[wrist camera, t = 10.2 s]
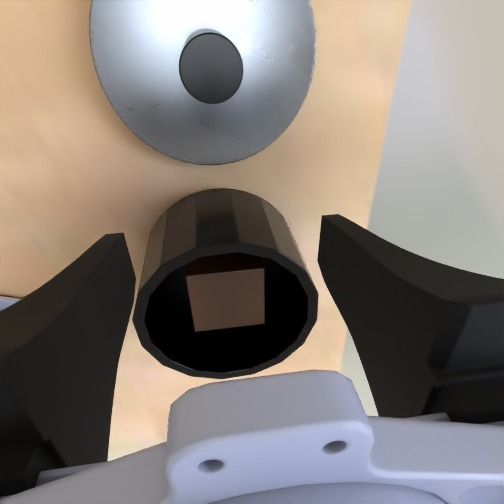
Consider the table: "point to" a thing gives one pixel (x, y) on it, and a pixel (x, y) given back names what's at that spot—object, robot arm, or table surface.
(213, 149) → the lid
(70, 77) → the table surface
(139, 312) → the black round pot
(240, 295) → the block
